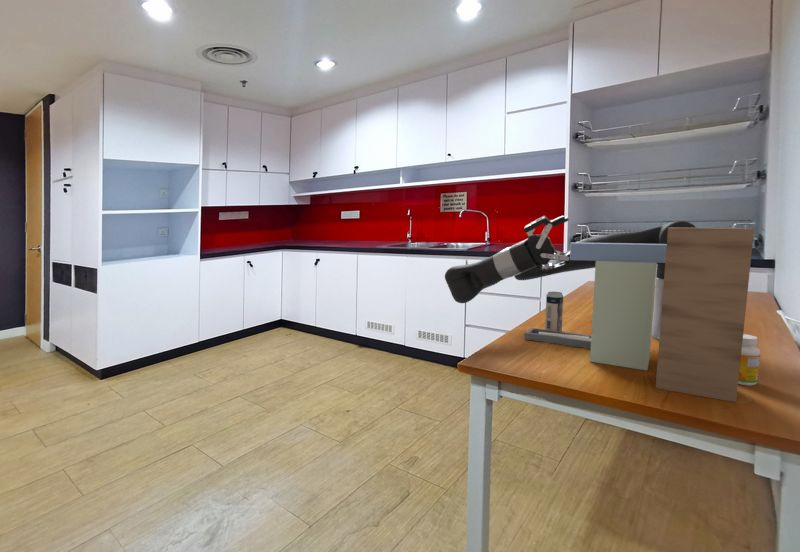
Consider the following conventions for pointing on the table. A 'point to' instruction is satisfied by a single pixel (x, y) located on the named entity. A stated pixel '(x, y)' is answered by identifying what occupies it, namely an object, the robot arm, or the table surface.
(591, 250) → the blue block
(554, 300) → the beer can
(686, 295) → the walnut stand
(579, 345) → the pen tray
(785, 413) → the table surface
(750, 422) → the table surface
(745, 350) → the supplement bottle
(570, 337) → the white hexagonal pencil
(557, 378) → the table surface
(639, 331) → the pale green tall block
